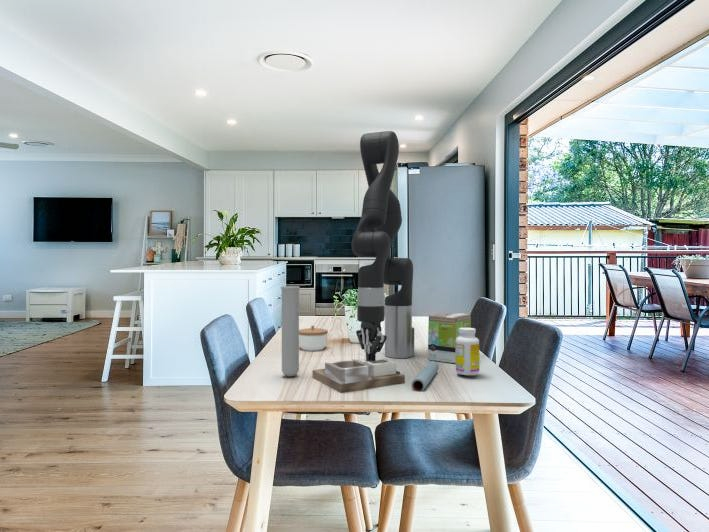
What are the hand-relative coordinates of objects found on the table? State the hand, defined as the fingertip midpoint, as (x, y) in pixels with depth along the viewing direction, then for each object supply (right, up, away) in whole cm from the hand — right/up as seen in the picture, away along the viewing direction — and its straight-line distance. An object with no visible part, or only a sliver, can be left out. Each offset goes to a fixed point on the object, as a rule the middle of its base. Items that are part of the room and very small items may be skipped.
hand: (370, 366), depth 123 cm
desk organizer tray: (-4, -3, -2) cm, 5 cm away
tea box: (+28, -3, +27) cm, 39 cm away
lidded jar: (-19, -3, +37) cm, 42 cm away
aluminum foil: (+13, -4, -2) cm, 14 cm away
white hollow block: (+2, -1, -4) cm, 4 cm away
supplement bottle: (+28, -3, +5) cm, 29 cm away
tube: (-22, -3, +1) cm, 23 cm away
